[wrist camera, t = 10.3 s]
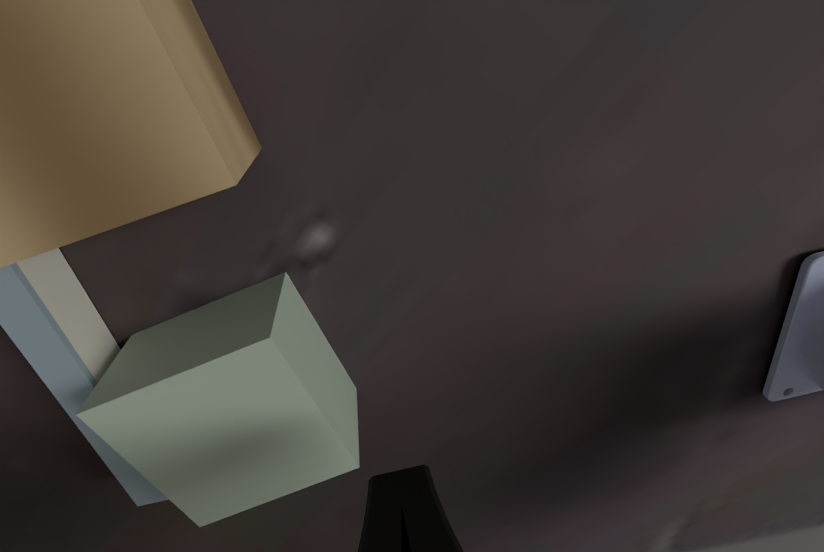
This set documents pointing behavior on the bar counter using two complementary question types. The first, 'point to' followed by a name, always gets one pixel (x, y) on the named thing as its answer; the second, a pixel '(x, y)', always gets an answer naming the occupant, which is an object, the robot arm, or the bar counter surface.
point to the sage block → (230, 403)
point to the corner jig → (65, 347)
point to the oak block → (109, 118)
